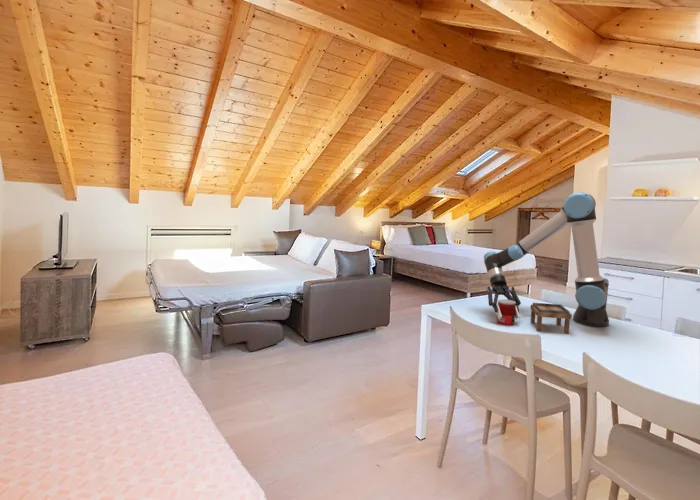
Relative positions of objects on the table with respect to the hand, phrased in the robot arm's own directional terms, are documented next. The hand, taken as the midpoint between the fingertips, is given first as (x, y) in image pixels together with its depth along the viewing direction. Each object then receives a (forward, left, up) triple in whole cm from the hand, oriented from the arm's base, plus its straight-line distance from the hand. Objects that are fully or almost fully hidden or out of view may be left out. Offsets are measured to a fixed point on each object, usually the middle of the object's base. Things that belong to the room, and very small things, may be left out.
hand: (509, 318), depth 181 cm
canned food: (+1, -3, -4) cm, 5 cm away
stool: (-18, -1, -4) cm, 18 cm away
